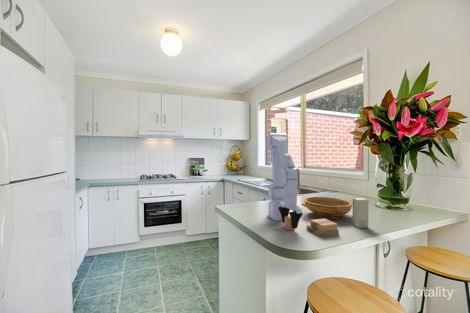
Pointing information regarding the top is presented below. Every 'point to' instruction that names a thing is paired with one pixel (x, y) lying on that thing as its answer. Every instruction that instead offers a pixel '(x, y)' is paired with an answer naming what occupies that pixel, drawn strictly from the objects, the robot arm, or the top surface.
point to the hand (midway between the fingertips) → (289, 225)
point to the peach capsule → (288, 223)
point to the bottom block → (322, 234)
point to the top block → (323, 224)
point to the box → (360, 212)
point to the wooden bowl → (328, 206)
